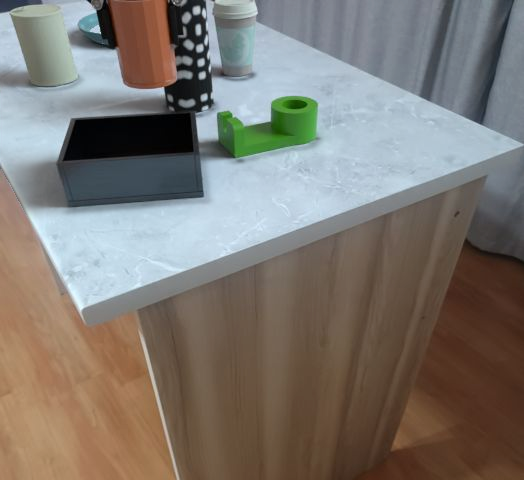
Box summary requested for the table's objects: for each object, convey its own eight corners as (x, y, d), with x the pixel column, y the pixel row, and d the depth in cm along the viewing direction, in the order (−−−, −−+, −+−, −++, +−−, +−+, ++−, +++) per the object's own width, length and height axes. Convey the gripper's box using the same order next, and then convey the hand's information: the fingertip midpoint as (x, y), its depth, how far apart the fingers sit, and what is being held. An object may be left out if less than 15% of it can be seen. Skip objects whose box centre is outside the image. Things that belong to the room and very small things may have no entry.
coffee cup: (208, 75, 102) (202, 3, 93) (229, 62, 107) (226, -7, 99) (245, 81, 99) (243, 8, 91) (266, 68, 104) (265, -2, 96)
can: (33, 72, 104) (12, 2, 96) (80, 69, 105) (63, -1, 97) (27, 88, 98) (3, 14, 89) (77, 84, 99) (58, 11, 90)
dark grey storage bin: (69, 207, 66) (55, 163, 62) (81, 157, 77) (71, 117, 72) (204, 196, 68) (199, 153, 64) (199, 149, 78) (195, 110, 74)
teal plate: (79, 26, 129) (76, 10, 127) (175, 18, 133) (174, 3, 131) (82, 54, 113) (78, 36, 110) (191, 44, 117) (190, 27, 114)
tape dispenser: (302, 122, 85) (303, 93, 81) (324, 139, 80) (326, 108, 77) (217, 140, 80) (215, 109, 77) (236, 158, 76) (234, 126, 72)
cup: (121, 91, 62) (104, 2, 56) (124, 72, 67) (108, -11, 61) (178, 87, 63) (167, -1, 56) (177, 69, 68) (167, -13, 61)
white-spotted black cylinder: (156, 104, 91) (136, -35, 77) (193, 92, 95) (179, -43, 81) (186, 117, 87) (170, -28, 73) (223, 103, 91) (214, -37, 77)
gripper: (200, -167, 53) (214, 32, 65) (25, -163, 51) (75, 39, 64) (204, -167, 48) (219, 49, 60) (10, -163, 46) (67, 58, 59)
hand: (144, 42), depth 62 cm, fingers closed on cup, 6 cm apart
